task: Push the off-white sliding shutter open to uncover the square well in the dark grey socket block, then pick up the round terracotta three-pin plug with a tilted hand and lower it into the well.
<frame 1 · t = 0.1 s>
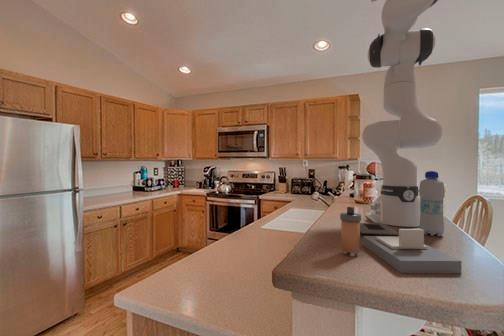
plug: (350, 254, 62), on the counter
shutter: (401, 234, 61), point 5 cm above the counter, slide at 0.0 cm
electrical outlet: (374, 234, 81), on the counter
socket block: (404, 257, 59), on the counter
bottle: (431, 235, 79), on the counter
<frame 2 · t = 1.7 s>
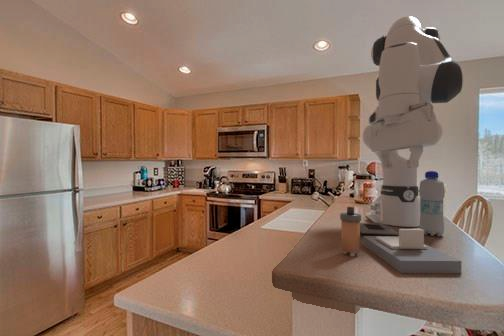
hand: (398, 168, 61), 21 cm above the counter, tool pointing down, fingers open, 8 cm apart
nothing on the counter moved.
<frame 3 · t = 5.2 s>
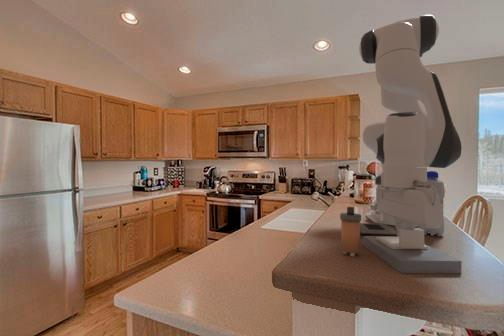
hand: (404, 238, 59), 4 cm above the counter, tool pointing down, fingers closed
shutter: (401, 234, 61), point 5 cm above the counter, slide at 0.2 cm, touching gripper
everything else where it was.
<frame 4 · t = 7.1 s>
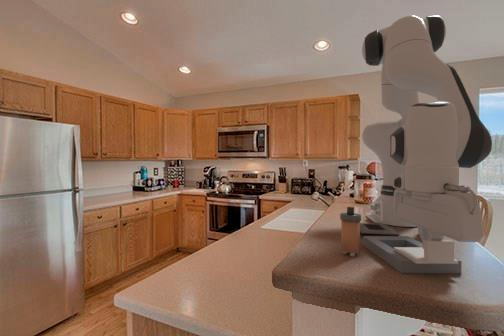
hand: (430, 251, 50), 4 cm above the counter, tool pointing down, fingers closed
shutter: (424, 246, 52), point 5 cm above the counter, slide at 8.6 cm, touching gripper
everything else where it was.
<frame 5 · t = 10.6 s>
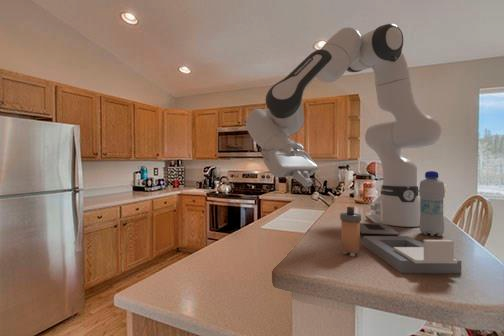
hand: (309, 185, 69), 16 cm above the counter, tool tilted 45°, fingers closed
shutter: (424, 245, 52), point 5 cm above the counter, slide at 8.5 cm
everything else where it was.
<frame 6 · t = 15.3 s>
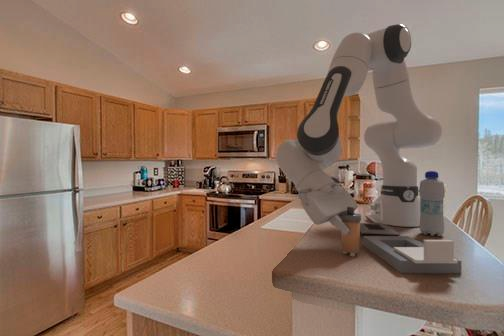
hand: (353, 230, 61), 6 cm above the counter, tool tilted 45°, fingers closed on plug, 4 cm apart
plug: (350, 254, 62), on the counter, touching gripper
everything else where it was.
when the fingers open (7 cm above the counter, at t = 21.6 s): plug stays where it is, resting in socket block.
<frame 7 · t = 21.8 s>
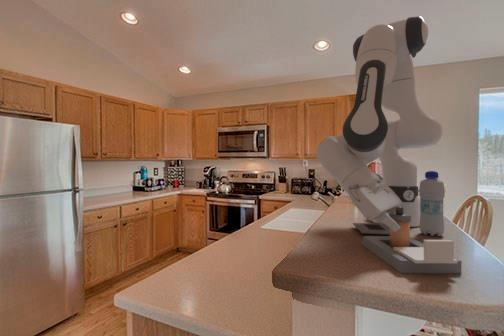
hand: (402, 226, 61), 7 cm above the counter, tool tilted 45°, fingers open, 7 cm apart
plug: (399, 254, 62), resting in socket block
everything else where it was.
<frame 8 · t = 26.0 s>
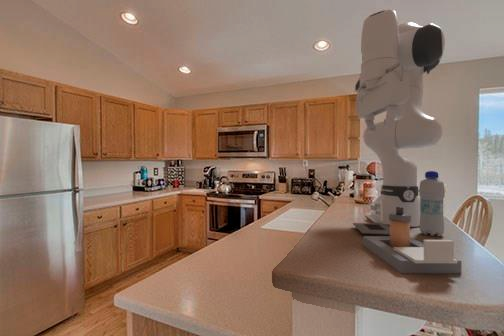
hand: (379, 129, 65), 31 cm above the counter, tool pointing down, fingers open, 8 cm apart
nothing on the counter moved.
at the end: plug inside the target area on the socket block (0.0 cm from its centre), point 0.0 cm above the socket block's base; shutter slide at 8.5 cm; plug tilted 0° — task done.
